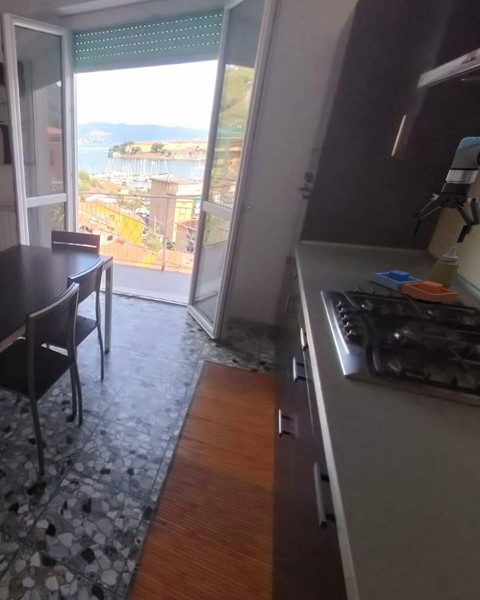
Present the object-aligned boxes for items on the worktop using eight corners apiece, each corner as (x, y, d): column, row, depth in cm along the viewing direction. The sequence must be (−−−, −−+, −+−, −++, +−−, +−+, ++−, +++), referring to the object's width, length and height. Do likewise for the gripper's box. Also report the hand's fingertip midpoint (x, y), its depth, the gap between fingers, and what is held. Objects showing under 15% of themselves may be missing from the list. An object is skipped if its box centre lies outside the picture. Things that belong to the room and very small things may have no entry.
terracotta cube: (438, 296, 140) (443, 284, 138) (431, 298, 138) (436, 286, 136) (422, 292, 144) (427, 280, 142) (415, 294, 142) (420, 282, 140)
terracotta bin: (454, 301, 137) (458, 293, 135) (429, 303, 135) (433, 294, 133) (423, 290, 147) (427, 282, 145) (400, 292, 145) (403, 284, 144)
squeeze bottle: (446, 288, 149) (464, 246, 142) (452, 294, 143) (472, 251, 136) (420, 284, 153) (438, 243, 146) (425, 290, 147) (443, 248, 139)
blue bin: (419, 289, 148) (423, 281, 147) (396, 290, 147) (399, 282, 145) (393, 279, 159) (396, 271, 157) (371, 281, 157) (374, 273, 155)
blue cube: (405, 284, 151) (410, 273, 149) (398, 286, 149) (403, 275, 147) (392, 280, 155) (396, 270, 153) (385, 282, 154) (389, 271, 152)
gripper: (511, 184, 123) (484, 244, 131) (423, 179, 144) (404, 231, 152) (501, 185, 120) (475, 246, 128) (413, 180, 141) (394, 233, 149)
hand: (436, 238), depth 140 cm, fingers open, 13 cm apart
